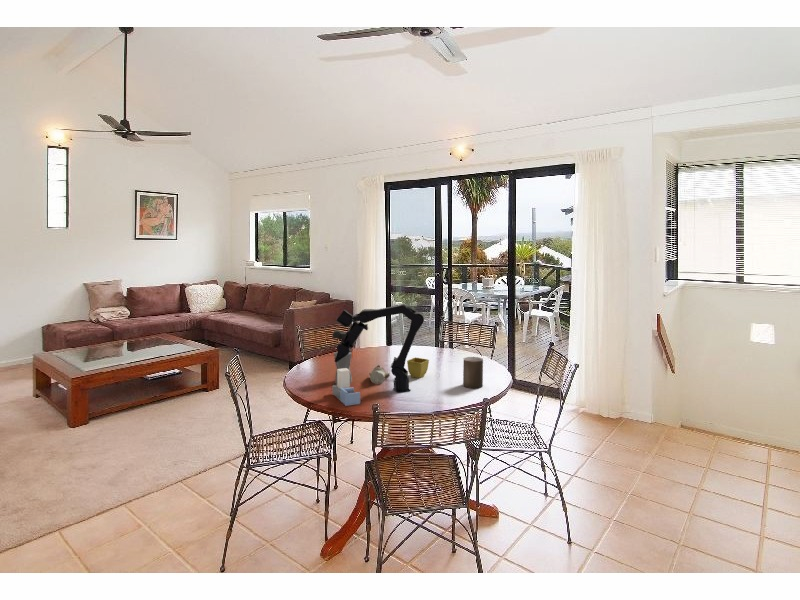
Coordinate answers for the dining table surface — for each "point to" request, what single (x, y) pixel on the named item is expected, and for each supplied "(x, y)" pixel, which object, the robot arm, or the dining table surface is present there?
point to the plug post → (343, 378)
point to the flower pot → (417, 367)
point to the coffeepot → (343, 364)
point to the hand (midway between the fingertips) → (337, 359)
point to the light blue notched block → (349, 397)
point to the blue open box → (338, 391)
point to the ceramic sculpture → (378, 375)
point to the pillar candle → (473, 372)
